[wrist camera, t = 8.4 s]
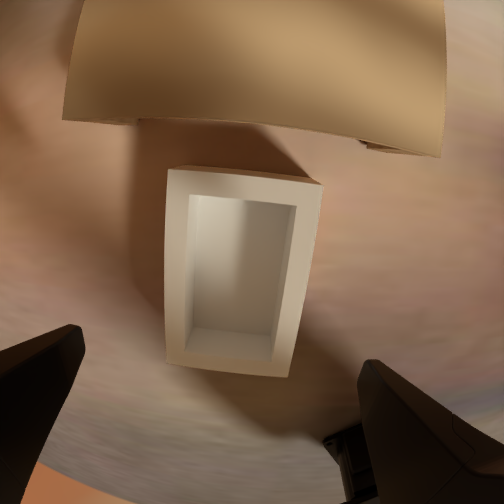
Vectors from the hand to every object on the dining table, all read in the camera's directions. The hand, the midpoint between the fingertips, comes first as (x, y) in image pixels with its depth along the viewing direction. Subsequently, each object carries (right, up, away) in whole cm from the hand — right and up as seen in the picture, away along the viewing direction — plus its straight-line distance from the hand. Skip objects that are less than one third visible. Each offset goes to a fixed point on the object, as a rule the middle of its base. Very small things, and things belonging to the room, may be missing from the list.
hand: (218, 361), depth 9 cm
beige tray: (0, +3, +9) cm, 9 cm away
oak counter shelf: (+2, +15, +4) cm, 16 cm away
